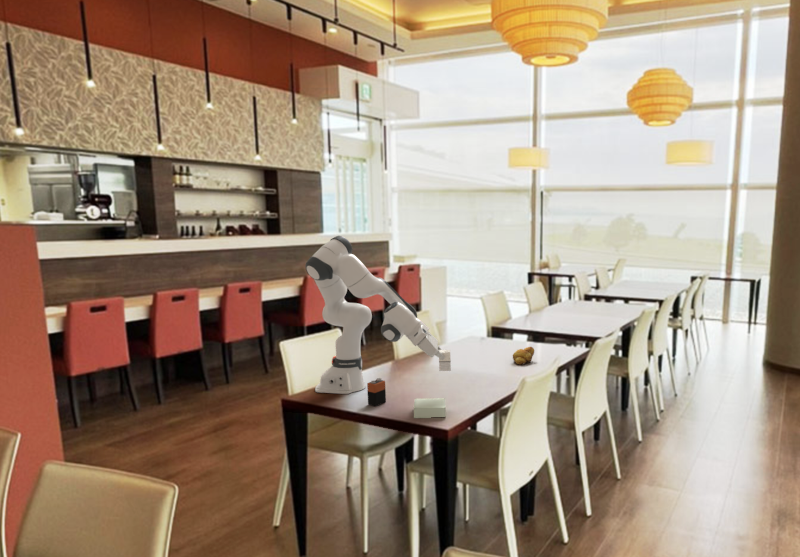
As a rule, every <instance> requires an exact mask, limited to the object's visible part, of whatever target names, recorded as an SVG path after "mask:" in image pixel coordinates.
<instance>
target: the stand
mask: <svg viewBox="0 0 800 557" xmlns="http://www.w3.org/2000/svg"><path fill="white" fill-rule="evenodd" d="M413 402H414V404H413V419H432V418H431V417H447V412H446V411H447V410H446V407H447V406H446V397H445V398H444V397H443V398H438V397H437V398H414V401H413Z"/></svg>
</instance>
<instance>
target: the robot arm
mask: <svg viewBox="0 0 800 557" xmlns="http://www.w3.org/2000/svg"><path fill="white" fill-rule="evenodd" d="M352 253H353V246H352V243H351V242H350V241H349V239H347V238H346V237H344V236H342V235H337V236H334V237H331V238H330V240H329V241H327V242H325V243H324V244H323V245H322V246H321V247H320V248H318V250H317V251H316V252H314V253H313V255H312V256H309V259H307V261H306V262H305V266H304V267H305V270H306V273H307V274H308V276H310V277H311V279H312V280H314V282H315V284H316V286H317V288H318V290H319V292H320V294H321V297H322V298H323V300H324V306H323V309H322V316H321V317H322V319H323V321H324V322H326V323H327V324H329V325H332V326H336V327H342V333H341V335H340V336H338V337H337V338H336V340H335V355H334V356H332V359H331V366H330V367H329V368H328V369H327V370H325V371H324V372H323V373H322V375H321V376H320V379H319V380H320V381H319V383H318V384H316V385H315V387H314V391H315V393H322V394H324V393H325V394H326V393H327V394H338V395H341V394H342V395H348V394H351V393H354V392H355V393H356V392H359V391H361V390H364V389H365V388H366V384H365V381H364V376H363V370H362V369H363V359H362V358H363V357H362V355H361V340H362V335H363V332H364V331H365V329H366V328H367V327H368V326H370V324H371V322H372V318H373V315H372V314H373V313H372V310H371V309H370V307H368V306H367V305H365V304H361V303H357V302H348V301H347V300H346V299H345V296H346V294H347V292H348V290H349V292H350V293H351V294H352V295H353V296H354V297H355V298H358V299H366V298H371V297H373V296H376V295H379V296H381V297H382V298H384V300H386V301H387V303H388V304H389V305H388V306H387V307H386V308H385V310H384V311H383V315H384V318H383V322H382V325H381V326H380V332H381V335H382V337H383V338H384V339H386V340H387V341H389V342H391V343H395V342H398V341H400V340H401V339H402V338H403V336H405V337H406V338H407V339H408V340H409V341H410V342H411V344H412V345H413V346H415V347H418V349H420V350H421V351H422V352H424V353H425V354H426V355H427V356H429V357H431V358H433V357H437V358H438V359H439V358H440V359H441V360H443V359H444V358H445V356H444V355H443V354H441V353H440V352H439V350H443V349H442V348H441V347H440V346H439V340H438V339H437V338H436V337H435V336H434V335H433V334H431V333H430V332H429V330H430V328H429V326H427V325H426V323H424V322H423V321H422V320H421V319H419V317H418V313H417V310H416V309H415V307H414V306H413V305H411V304H410V303H408V302H407V301H406V300H405V299H404V298H403V297H402V296H401V295H400V294H399V293H398V291H396V290H395V289H394V288H393V287H392V286H391V285H390V284H389V283H388V282H387V281H386V280H385V279H384V278H382V277H376V276H375V275H373V274H372V273H371V272H370V270H369V269H368V268H367V267H366V265H365V264H364V263H363V262H362V261H361V260H360V259H359V258H358V257H357V256H356V255H355V254H354V253H353V254H352Z"/></svg>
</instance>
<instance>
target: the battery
mask: <svg viewBox="0 0 800 557" xmlns="http://www.w3.org/2000/svg"><path fill="white" fill-rule="evenodd" d="M366 387H367V404H368V405H369V406H372V407H377V406H380V405H382V404H384V403H386V401H387V394H386V393H387V392H386V381H385V380H382V378H381V377H379V378H375V380H371V381H370V382H367V386H366Z"/></svg>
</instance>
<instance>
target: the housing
mask: <svg viewBox="0 0 800 557" xmlns="http://www.w3.org/2000/svg"><path fill="white" fill-rule="evenodd" d="M439 352H440V353H441V354H443V355H444V356H445V358H444V359H443V360H441V359H440V358H439V357H438V365H439V367H438V368H439V372H445V371H446V372H448V371H449V372H450V371H452V370H451V368H452V367H451V366H452V365H451V364H452V363H451V361H452V360H451V349H442V350H439Z"/></svg>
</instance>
